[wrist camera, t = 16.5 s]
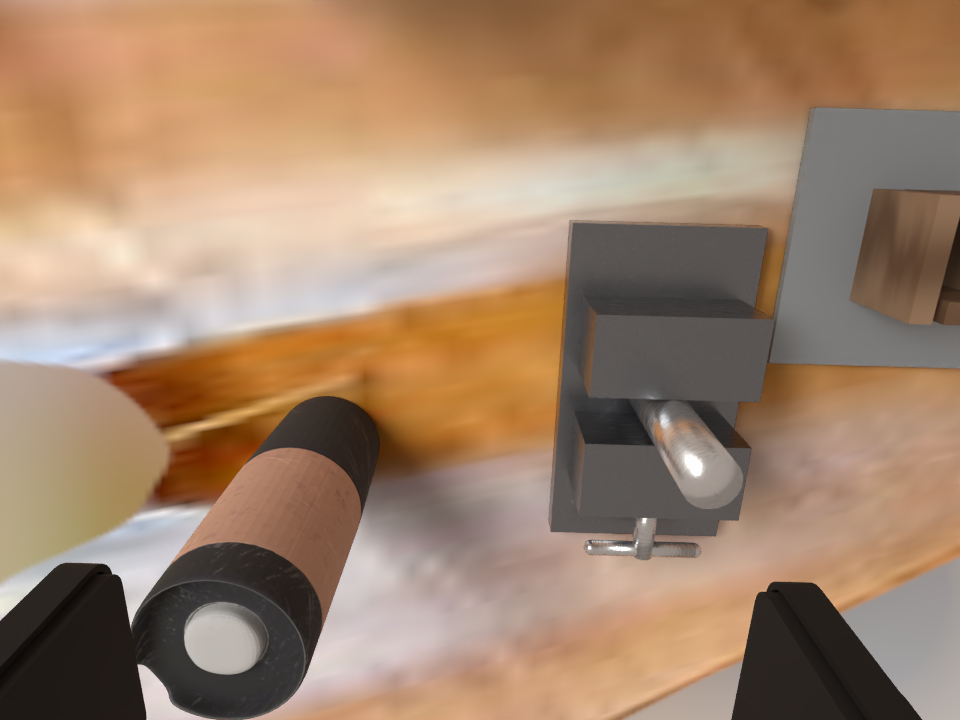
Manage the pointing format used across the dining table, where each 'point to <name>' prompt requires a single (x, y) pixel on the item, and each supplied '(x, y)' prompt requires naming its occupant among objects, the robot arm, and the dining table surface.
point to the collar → (911, 256)
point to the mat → (858, 237)
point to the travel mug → (261, 568)
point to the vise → (656, 381)
